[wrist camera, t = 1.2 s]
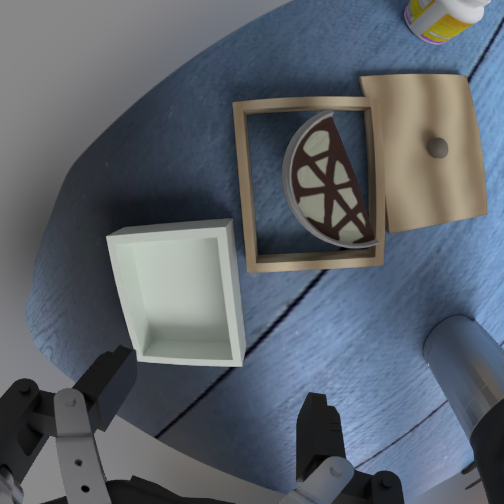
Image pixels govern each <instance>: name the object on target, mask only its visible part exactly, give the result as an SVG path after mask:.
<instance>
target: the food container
mask: <svg viewBox="0 0 504 504" xmlns="http://www.w3.org/2000/svg"><path fill="white" fill-rule="evenodd" d="M333 113H334V112H332V111H331V110H328V109H327V110H324V111H322V112H320V113H318V114H316V115H315V116H313V117H311V118H310V119H308V120H307V121H306V122H305V123H304V124H303V125H302V126H301V127H300V128H299V129H298V130H297V132H296V133H295V134H294V136H293V137H292V139H291V141H290V143H289V145H288V146H287V149H286V152H285V155H284V160H283V165H282V184H283V190H284V194H285V197H286V200H287V203H288V205H289V207H290V209H291V211H292V213H293V214H294V216H295V217H296V219H297V220H298V221H299V222H300V223H301V224H302V225H303V227H304V228H305V229H306V230H308V231H309V232H310V233H312V234H313V235H314V236H316V237H318V238H320V239H322V240H323V241H326V242H328V243H331V244H334V245H337V246H341V247H346V248H365V247H371V246H374V245H377V244H380V242H379V241H378V240H377V239H376V238H375V237H374V233H373V229H372V227H371V224H370V221H369V218H368V215H367V211H366V208H365V205H364V202H363V198H362V195H361V192H360V189H359V186H358V182H357V179H356V177H355V174H354V171H353V169H352V166H351V164H350V161H349V159H348V156H347V154H346V151H345V149H344V146H343V144H342V141H341V139H340V136H339V134H338V131H337V129H336V126H335V124H334V122H333V119H332V115H333Z"/></svg>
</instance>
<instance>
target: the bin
mask: <svg viewBox="0 0 504 504" xmlns="http://www.w3.org/2000/svg"><path fill="white" fill-rule="evenodd" d="M106 238H107V244H108V249H109V254H110V259H111V263H112V268H113V273H114V277H115V281H116V286H117V290H118V294H119V298H120V302H121V305H122V309H123V313H124V317H125V320H126V324H127V327H128V331H129V334H130V337H131V341H132V344H133V347H134V349H135V350H136V353H137V360H138V361H142V362H152V363H165V364H180V365H199V366H242V364H243V359H244V354H245V349H246V339H245V330H244V321H243V311H242V302H241V293H240V283H239V273H238V264H237V254H236V244H235V233H234V223H233V218H227V219H213V220H200V221H187V222H175V223H163V224H152V225H142V226H131V227H124V228H122V229H120V230H118V231H116V232H114V233H112V234H110V235H108V236H106Z"/></svg>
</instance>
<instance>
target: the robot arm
mask: <svg viewBox="0 0 504 504" xmlns="http://www.w3.org/2000/svg"><path fill="white" fill-rule="evenodd" d="M423 356H424V359H425V361H426V363H427V364H428V366H429V368H430V370H431V371H432V373H433V375H434V377H435V378H436V380H437V382H438V384H439V385H440V387H441V389H442V391H443V392H444V394H445V396H446V398H447V400H448V401H449V403H450V405H451V407H452V409H453V411H454V413H455V415H456V416H457V418H458V420H459V422H460V424H461V426H462V428H463V430H464V432H465V434H466V436H467V438H468V440H469V442H470V444H471V446H472V449H473V452H474V460H475V464H476V466H477V469H478V472H479V474H480V477H481V480H482V482H483V486H484V489H485V492H486V495H487V498H488V502H489V504H504V350H503V348H502V347H501V346H500V345H499V344H498V343H497V342H496V341H495V340H494V339H493V338H492V337H491V336H490V334H489V333H488V332H487V331H486V330H485V329H484V328H483V327H482V326H481V325H480V324H479V323H478V322H477V321H476V320H475V321H471V320H470V319H469V318H467V317H465V316H463V315H456V316H452V317H449V318H447V319H445V320H443V321H442V322H441V323H439V324H438V325H437V326H436V327H435V328H434V329H433V330H432V332H431V333H430V334H429V336H428V338H427V340H426V342H425V345H424V349H423ZM136 378H137V353H136V350H135V349H132V348H129V347H127V346H124V345H119V346H118V348H117V349H116V350H115V351H114V352H113V353H112V352H109V351H107V352H106V353H104V354H102V355H100V356H99V357H98V358H97V359H96V360H95V361H94V363H93V364H92V365H91V366H90V367H89V369H88V370H87V371H86V372H85V373H84V374H83V375H82V377H81V378H80V379H79V380H78V381H77V383H76V384H75V385H74V386H73V387H72V388H66V389H62V390H60V391H58V392H57V393H51V392H46V391H42V390H39V388H38V385H37V384H36V383H35V382H34V381H33V380H31V379H26V378H24V379H19V380H17V381H15V382H14V383H13V384H12V385H11V387H10V388H9V389H8V390H7V391H6V392H5V393H4V395H3V396H2V397H1V398H0V504H22V501H23V497H24V492H23V489H22V487H21V486H20V484H21V482H22V481H23V479H24V477H25V476H26V474H27V472H28V471H29V469H30V467H31V466H32V463H33V462H34V461H35V459H36V457H37V456H38V454H39V452H40V451H41V449H42V447H43V446H44V444H45V443H46V441H47V440H48V438H49V436H53V437H56V446H57V453H58V458H59V464H60V469H61V474H62V479H63V484H64V488H65V492H66V496H64V497H61V498H58V499H55V500H52V501H48V502H45V503H41V504H235V503H230V502H225V501H220V500H215V499H210V498H188V497H181V496H178V495H176V494H174V493H172V492H171V491H169V490H167V489H165V488H163V487H162V486H160V485H158V484H156V483H153V482H150V481H147V480H145V479H142V478H139V477H136V476H132V478H131V480H130V481H129V480H111V481H107V478H106V476H105V473H104V470H103V467H102V464H101V460H100V456H99V453H98V449H97V445H96V441H95V437H94V433H95V431H96V430H97V429H99V430H102V431H104V432H105V431H106V429H107V428H108V426H109V424H110V423H111V421H112V419H113V418H114V416H115V415H116V413H117V411H118V410H119V408H120V407H121V405H122V403H123V402H124V400H125V398H126V397H127V395H128V394H129V392H130V390H131V389H132V387H133V386H134V384H135V381H136ZM296 482H303V483H302V484H301V485H300V486H299V487H298V488H296V489H294V490H293V491H291V492H290V493H289V494H288V495H287V496H286V497H285V498H284V499H282V500H281V501H280V502H279V503H278V504H404V498H403V491H402V485H401V481H400V479H399V477H398V476H397V475H396V474H394V473H393V472H390V471H379V472H377V473H376V474H375V475H374V476H373V475H370V474H366V473H363V472H359V471H357V470H355V469H354V467H353V465H352V464H351V463H350V462H349V461H348V460H347V459H346V455H345V448H344V441H343V434H342V427H341V420H340V415H339V413H338V412H337V410H336V408H335V407H334V406H327V399H326V395H325V394H319V393H312V392H309V393H308V395H307V397H306V399H305V401H304V404H303V406H302V408H301V410H300V412H299V415H298V418H297V424H296Z"/></svg>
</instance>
